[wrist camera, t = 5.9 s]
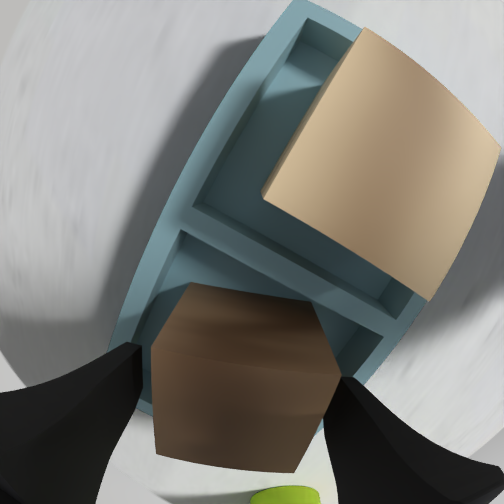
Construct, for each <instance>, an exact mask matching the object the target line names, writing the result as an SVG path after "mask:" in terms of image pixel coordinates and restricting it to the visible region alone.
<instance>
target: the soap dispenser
mask: <svg viewBox="0 0 504 504" xmlns="http://www.w3.org/2000/svg"><path fill="white" fill-rule="evenodd" d="M250 504H321V503H320V497H319V493H318V492H317V491H316V490H315V489H312V488H309V487H304V486H282V487H275V488H270V489H266V490H263V491H261V492H258V493H256V494H255V495H253V496H252V498H251V500H250Z"/></svg>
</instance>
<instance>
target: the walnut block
mask: <svg viewBox="0 0 504 504" xmlns="http://www.w3.org/2000/svg"><path fill="white" fill-rule="evenodd" d="M341 376H342V374H341V372H340V369H339V367H338V364H337V362H336V360H335V357H334V355H333V352H332V350H331V347H330V345H329V343H328V340H327V338H326V335H325V333H324V331H323V328H322V326H321V324H320V321H319V319H318V317H317V314H316V312H315V310H314V307H313V305H312V303H311V302H310V301H303V300H296V299H289V298H283V297H276V296H270V295H264V294H257V293H251V292H245V291H239V290H233V289H228V288H222V287H216V286H211V285H205V284H200V283H194V282H190V284H189V286H188V287H187V289H186V290H185V292H184V294H183V295H182V297H181V298H180V300H179V302H178V303H177V305H176V306H175V308H174V310H173V311H172V313H171V315H170V316H169V318H168V319H167V321H166V323H165V324H164V326H163V328H162V329H161V331H160V333H159V334H158V336H157V338H156V339H155V341H154V343H153V344H152V346H151V383H152V407H153V423H154V436H155V447H156V454H158V455H162V456H166V457H170V458H174V459H179V460H183V461H188V462H193V463H198V464H204V465H210V466H216V467H223V468H230V469H238V470H248V471H259V472H275V473H294V472H295V470H296V469H297V467H298V465H299V463H300V461H301V460H302V458H303V456H304V454H305V452H306V450H307V448H308V447H309V445H310V443H311V441H312V439H313V437H314V435H315V433H316V431H317V429H318V427H319V425H320V423H321V421H322V419H323V416H324V414H325V412H326V410H327V408H328V406H329V403H330V401H331V399H332V397H333V394H334V392H335V390H336V388H337V385H338V383H339V380H340V378H341Z"/></svg>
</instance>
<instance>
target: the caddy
mask: <svg viewBox="0 0 504 504" xmlns="http://www.w3.org/2000/svg"><path fill="white" fill-rule="evenodd" d="M362 30H363V29H361V28H359V27H358V26H356V25H354V24H352V23H351V22H349V21H347V20H345V19H343V18H342V17H340V16H338V15H336V14H334V13H332V12H330V11H328V10H326V9H324V8H322V7H320V6H318V5H316V4H314V3H312V2H310V1H308V0H293V1H292V2H291V3H290V5H289V6H288V7H287V8H286V10H285V11H284V12H283V13H282V15H281V16H280V17H279V19H278V20H277V21H276V23H275V24H274V25H273V27H272V28H271V29H270V31H269V32H268V33H267V35H266V36H265V37H264V39H263V40H262V42H261V43H260V44H259V46H258V47H257V49H256V50H255V51H254V53H253V54H252V56H251V57H250V59H249V60H248V62H247V63H246V64H245V66H244V67H243V69H242V70H241V72H240V73H239V75H238V77H237V78H236V80H235V81H234V83H233V84H232V86H231V87H230V89H229V91H228V92H227V94H226V95H225V97H224V99H223V100H222V102H221V103H220V105H219V107H218V108H217V110H216V112H215V113H214V115H213V117H212V118H211V120H210V122H209V123H208V125H207V127H206V129H205V130H204V132H203V134H202V136H201V137H200V139H199V141H198V143H197V145H196V146H195V148H194V150H193V152H192V154H191V156H190V157H189V159H188V161H187V163H186V165H185V167H184V169H183V171H182V173H181V175H180V176H179V178H178V180H177V182H176V184H175V186H174V188H173V190H172V192H171V194H170V196H169V198H168V201H167V203H166V205H165V207H164V209H163V211H162V213H161V215H160V217H159V219H158V222H157V224H156V226H155V228H154V230H153V233H152V235H151V237H150V239H149V242H148V244H147V246H146V249H145V251H144V253H143V256H142V258H141V260H140V263H139V265H138V268H137V270H136V273H135V275H134V278H133V280H132V283H131V285H130V288H129V290H128V293H127V296H126V298H125V301H124V304H123V306H122V309H121V312H120V315H119V317H118V320H117V323H116V326H115V329H114V332H113V335H112V338H111V341H110V344H109V347H108V350H107V353H108V352H109V351H111V350H113V349H115V348H116V347H118V346H120V345H121V344H123V343H125V342H130V343H134V344H138V345H142V368H143V389H142V392H141V395H140V398H139V400H138V403H137V406H136V408H137V409H139V410H140V411H142V412H144V413H146V414H148V415H150V416H152V417H153V407H152V383H151V346H152V344H153V343H154V341H155V339H156V338H157V336H158V334H159V333H160V331H161V329H162V328H163V326H164V324H165V323H166V321H167V319H168V318H169V316H170V315H171V313H172V311H173V310H174V308H175V306H176V305H177V303H178V302H179V300H180V298H181V297H182V295H183V294H184V292H185V290H186V289H187V287H188V286H189V284H190V282H194V283H200V284H205V285H211V286H216V287H222V288H228V289H233V290H239V291H245V292H251V293H257V294H264V295H270V296H276V297H283V298H289V299H296V300H303V301H310V302H311V303H312V305H313V307H314V310H315V312H316V314H317V317H318V319H319V321H320V324H321V326H322V328H323V331H324V333H325V335H326V338H327V340H328V343H329V345H330V347H331V350H332V352H333V355H334V357H335V360H336V362H337V364H338V367H339V369H340V372H341V374H342V376H341V377H354V378H356V379H357V380H358V381H359V382H360V383H361V384H362V385H364V384H365V383H366V382H367V381H368V379H369V378H370V377H371V376H372V375H373V374H374V372H375V371H376V370H377V369H378V367H379V366H380V365H381V364H382V363H383V361H384V360H385V359H386V358H387V356H388V355H389V354H390V352H391V351H392V350H393V349H394V347H395V346H396V345H397V343H398V342H399V341H400V339H401V338H402V336H403V335H404V334H405V332H406V331H407V330H408V328H409V327H410V325H411V324H412V322H413V321H414V320H415V318H416V317H417V315H418V314H419V312H420V311H421V309H422V308H423V306H424V305H425V303H426V301H427V300H426V299H425V298H423V297H422V296H420V295H419V294H417V293H416V292H414V291H413V290H411V289H410V288H408V287H407V286H405V285H404V284H402V283H401V282H399V281H398V280H396V279H395V278H393V277H392V276H390V275H389V274H387V273H386V272H384V271H382V270H381V269H379V268H378V267H376V266H375V265H373V264H372V263H370V262H368V261H367V260H365V259H364V258H362V257H360V256H359V255H357V254H356V253H354V252H352V251H351V250H349V249H348V248H346V247H344V246H343V245H341V244H339V243H338V242H336V241H335V240H333V239H331V238H330V237H328V236H326V235H325V234H323V233H321V232H320V231H318V230H316V229H315V228H313V227H311V226H310V225H308V224H306V223H304V222H303V221H301V220H299V219H298V218H296V217H294V216H292V215H291V214H289V213H287V212H285V211H284V210H282V209H280V208H278V207H277V206H275V205H273V204H271V203H270V202H268V201H266V200H264V199H263V197H262V195H261V192H260V191H261V189H262V187H263V185H264V184H265V182H266V180H267V178H268V177H269V175H270V173H271V171H272V170H273V168H274V166H275V164H276V163H277V161H278V159H279V157H280V156H281V154H282V152H283V150H284V149H285V147H286V145H287V144H288V142H289V140H290V138H291V137H292V135H293V133H294V132H295V130H296V128H297V126H298V125H299V123H300V121H301V120H302V118H303V116H304V115H305V113H306V111H307V109H308V108H309V106H310V104H311V103H312V101H313V99H314V98H315V96H316V94H317V93H318V91H319V89H320V88H321V86H322V84H323V83H324V82H325V80H326V79H327V77H328V76H329V75H330V73H331V72H332V70H333V69H334V68H335V66H336V65H337V63H338V62H339V61H340V59H341V58H342V57H343V55H344V54H345V52H346V51H347V50H348V48H349V47H350V46H351V44H352V43H353V42H354V40H355V39H356V38H357V36H358V35H359V34H360V32H361V31H362ZM323 427H324V426H323V419H322V421H321V423H320V425H319V427H318V429H317V431H316V433H315V435H316V434H317V433H318V432H319V431H320V430H321V429H322V428H323ZM315 435H314V436H315Z"/></svg>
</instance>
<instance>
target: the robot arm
mask: <svg viewBox="0 0 504 504" xmlns="http://www.w3.org/2000/svg"><path fill="white" fill-rule="evenodd" d="M142 389H143V368H142V345H138V344H134V343H130V342H125V343H123V344H121V345H120V346H118V347H116V348H115V349H113V350H111V351H109V352H108V353H106V354H104V355H103V356H101V357H99V358H97V359H95V360H94V361H92V362H90V363H88V364H86V365H84V366H82V367H80V368H78V369H76V370H74V371H72V372H70V373H68V374H66V375H64V376H61V377H59V378H56V379H54V380H51V381H48V382H45V383H42V384H39V385H36V386H31V387H27V388H24V389H19V390H15V391H9V392H2V393H0V504H95V503H96V499H97V495H98V492H99V489H100V485H101V482H102V479H103V476H104V473H105V470H106V467H107V464H108V462H109V459H110V457H111V455H112V452H113V450H114V448H115V446H116V445H117V443H118V441H119V439H120V437H121V435H122V433H123V431H124V429H125V428H126V426H127V424H128V422H129V420H130V418H131V416H132V414H133V412H134V410H135V408H136V406H137V403H138V400H139V398H140V395H141V392H142ZM323 426H324V435H325V440H326V444H327V448H328V453H329V457H330V461H331V465H332V469H333V473H334V477H335V481H336V486H337V493H338V503H339V504H489V503H490V502H491V501H492V500H493V499H494V498H496V497H497V496H498V495H499V494H500V493H501V492H502V491H503V490H504V473H503V472H502V470H501V468H500V467H499V466H495V465H490V464H486V463H482V462H478V461H474V460H471V459H469V458H466V457H463V456H460V455H458V454H456V453H453V452H451V451H449V450H447V449H445V448H443V447H441V446H439V445H437V444H435V443H434V442H432V441H430V440H428V439H427V438H425V437H424V436H422V435H421V434H419V433H418V432H416V431H415V430H413V429H412V428H411V427H409V426H408V425H407V424H406V423H404V422H403V421H402V420H401V419H399V418H398V417H397V416H396V415H395V414H393V413H392V412H391V411H390V410H389V409H388V408H387V407H386V406H385V405H383V404H382V403H381V402H380V401H379V400H378V399H377V398H376V397H375V396H374V395H373V394H372V393H371V392H370V391H369V390H368V389H367V388H365V387H364V386H363V385H362V384H361V383H360V382H359V381H358V380H357V379H356V378H354V377H341V378H340V380H339V383H338V385H337V388H336V390H335V392H334V394H333V397H332V399H331V401H330V403H329V406H328V408H327V410H326V412H325V414H324V416H323Z"/></svg>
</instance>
